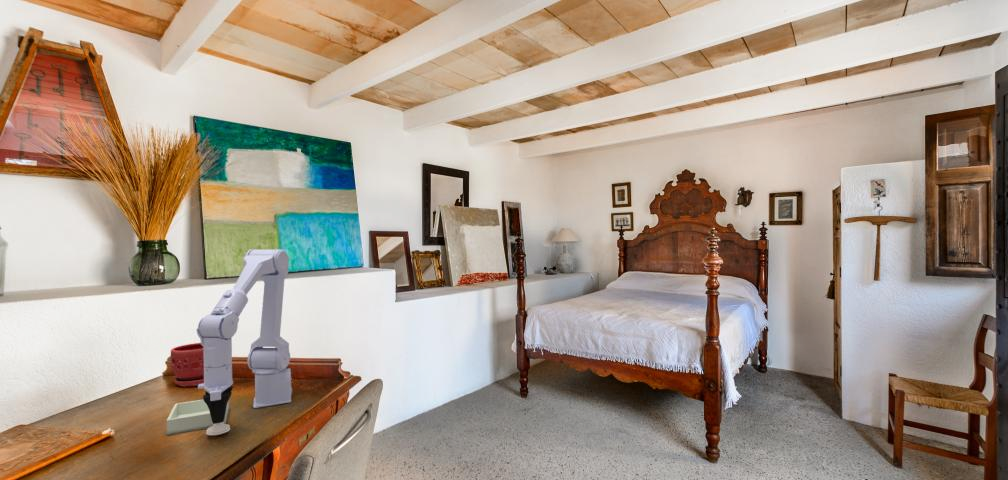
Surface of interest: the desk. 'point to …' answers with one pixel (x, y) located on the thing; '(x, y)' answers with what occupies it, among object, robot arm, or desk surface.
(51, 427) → the desk surface
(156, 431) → the desk surface
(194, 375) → the plant pot
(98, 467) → the desk surface
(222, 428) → the chess piece
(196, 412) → the box
